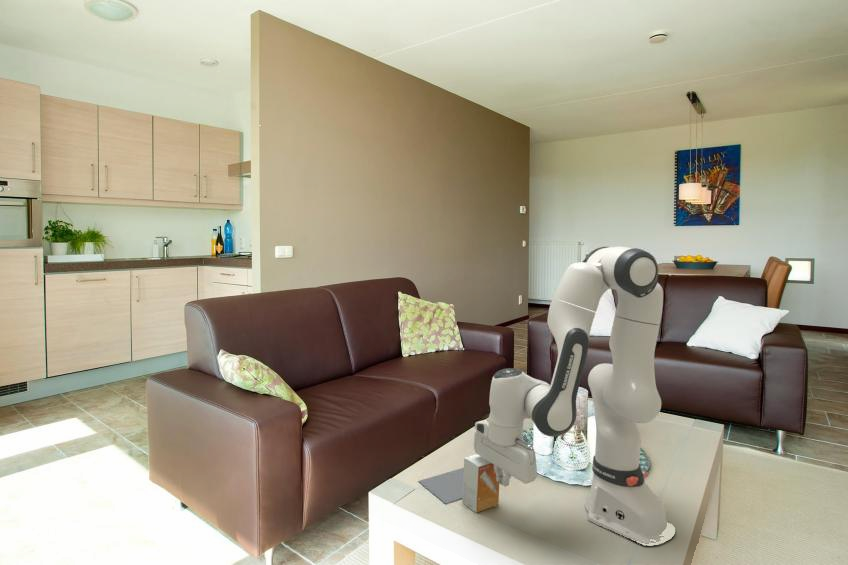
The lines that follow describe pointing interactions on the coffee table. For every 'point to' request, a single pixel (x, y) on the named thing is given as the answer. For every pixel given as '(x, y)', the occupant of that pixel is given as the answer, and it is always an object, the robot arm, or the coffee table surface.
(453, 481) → the slate mat
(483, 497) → the small box
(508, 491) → the coffee table surface
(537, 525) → the coffee table surface
